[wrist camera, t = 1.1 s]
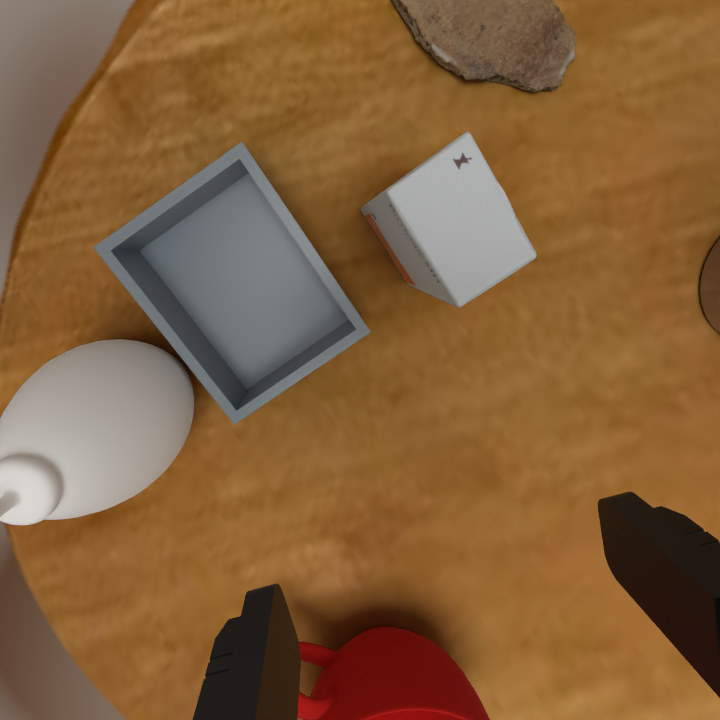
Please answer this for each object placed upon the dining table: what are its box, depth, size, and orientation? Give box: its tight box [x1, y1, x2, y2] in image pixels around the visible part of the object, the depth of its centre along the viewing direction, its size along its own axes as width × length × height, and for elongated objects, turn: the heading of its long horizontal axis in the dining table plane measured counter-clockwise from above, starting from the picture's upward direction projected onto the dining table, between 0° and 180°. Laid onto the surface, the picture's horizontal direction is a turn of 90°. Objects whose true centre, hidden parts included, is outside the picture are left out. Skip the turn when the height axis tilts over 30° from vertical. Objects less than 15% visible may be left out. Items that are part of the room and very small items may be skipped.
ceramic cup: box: [298, 626, 490, 720], centre depth 34 cm, size 13×17×10 cm
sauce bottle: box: [0, 339, 194, 525], centre depth 24 cm, size 8×8×18 cm
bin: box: [94, 142, 370, 425], centre depth 29 cm, size 10×12×5 cm
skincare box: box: [360, 132, 536, 308], centre depth 26 cm, size 6×4×12 cm
